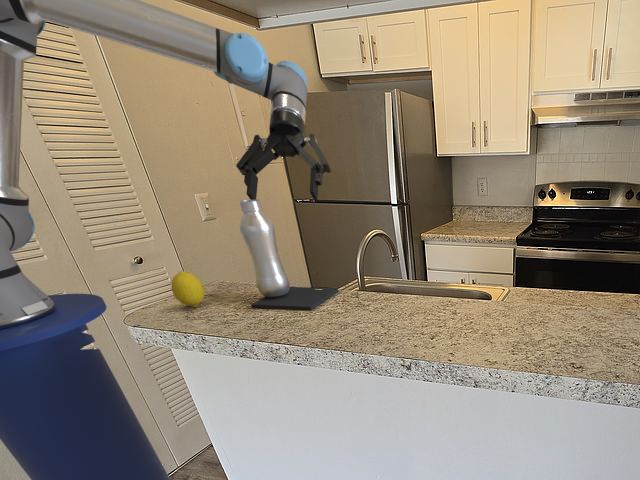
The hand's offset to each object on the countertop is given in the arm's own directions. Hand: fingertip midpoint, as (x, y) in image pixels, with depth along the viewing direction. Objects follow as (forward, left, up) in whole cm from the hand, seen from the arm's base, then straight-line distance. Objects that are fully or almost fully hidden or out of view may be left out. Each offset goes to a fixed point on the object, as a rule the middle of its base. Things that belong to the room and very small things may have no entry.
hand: (282, 197), depth 90 cm
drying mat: (+4, -10, -20) cm, 23 cm away
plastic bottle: (0, -10, -20) cm, 22 cm away
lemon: (-16, -17, -20) cm, 31 cm away
